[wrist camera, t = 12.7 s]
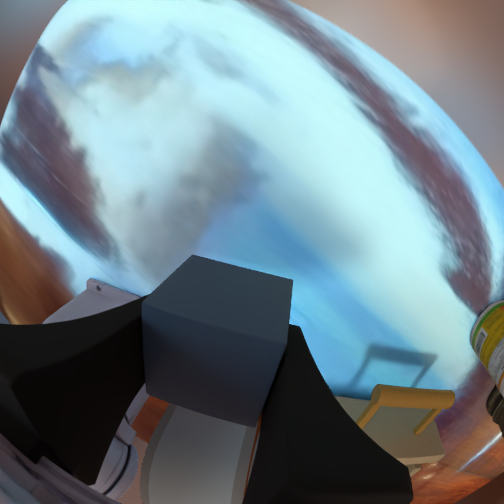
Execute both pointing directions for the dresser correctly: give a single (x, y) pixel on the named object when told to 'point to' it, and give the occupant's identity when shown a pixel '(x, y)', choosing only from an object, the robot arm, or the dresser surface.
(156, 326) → the block
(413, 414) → the drawer
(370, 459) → the robot arm
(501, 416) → the container
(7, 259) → the dresser surface
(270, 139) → the dresser surface
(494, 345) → the supplement bottle
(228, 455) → the alarm clock
